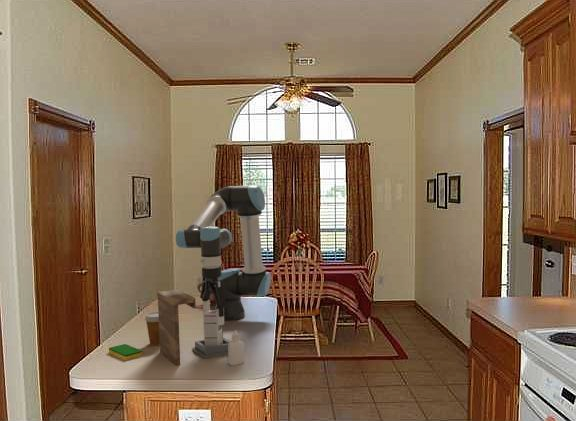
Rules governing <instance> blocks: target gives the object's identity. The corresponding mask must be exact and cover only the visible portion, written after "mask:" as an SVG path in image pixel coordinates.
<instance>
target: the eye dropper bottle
mask: <svg viewBox="0 0 576 421" xmlns="http://www.w3.org/2000/svg"><path fill="white" fill-rule="evenodd" d="M231 339H232V340H231V341H230V343H229V344H228V354H227V355H228V359H227V360H228V365H230V366H238V365H241V364H244V363H245V348H244V347H245V346H244V344H245V343H244V341H243V340H240V333H238V331H237V330H234V331H233V333H232V335H231Z"/></svg>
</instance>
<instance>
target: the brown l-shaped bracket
mask: <svg viewBox="0 0 576 421" xmlns="http://www.w3.org/2000/svg"><path fill="white" fill-rule="evenodd" d="M156 294H157V308H158V309H157V310H158V311H157V312H158V314H159V341H160V345H159V352H160V354H162V355H163V357H165V358H166V359H168V360H169V362H170V363H172V364H173V365H174V366H180V365H181V350H180V348H181V346H180V345H181V344H180V319H179V317H180V316H179V305H181V306H182V305H187V306H189V307H191V308H193V309H196V308H197V304H196V302H197V301H196V297H194V296H192V295H189V294H187V293H186V292H184V291H181V290H179V289H171V290H170V289H169V290H162V291H157V293H156Z"/></svg>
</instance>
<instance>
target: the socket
mask: <svg viewBox="0 0 576 421" xmlns="http://www.w3.org/2000/svg"><path fill="white" fill-rule="evenodd" d="M230 342H231V341H230V340H228V339H227V338H225V337H223V344H222V345H217V346H212V347H206V346H205V339H200V340H195V341H194V346H193V347H192V349H191V350H192V352H195V353H196V354H197V355H199V356H201V357H202V358H203V359H210V358H211V359H212V358H216V357H220V356H226V355H228V344H229V343H230Z"/></svg>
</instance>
